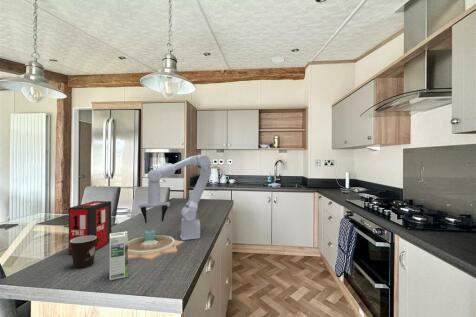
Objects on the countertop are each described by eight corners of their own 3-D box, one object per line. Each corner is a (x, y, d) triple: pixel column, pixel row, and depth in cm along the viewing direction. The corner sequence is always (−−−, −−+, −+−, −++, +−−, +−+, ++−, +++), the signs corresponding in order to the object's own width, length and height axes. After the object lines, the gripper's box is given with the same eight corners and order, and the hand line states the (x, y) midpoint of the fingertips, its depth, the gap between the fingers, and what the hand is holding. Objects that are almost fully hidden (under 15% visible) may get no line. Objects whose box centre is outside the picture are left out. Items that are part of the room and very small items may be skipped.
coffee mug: (76, 272, 85) (76, 244, 86) (65, 266, 90) (65, 240, 90) (108, 260, 95) (108, 235, 95) (97, 256, 100) (97, 232, 100)
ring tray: (179, 234, 129) (179, 229, 130) (189, 254, 101) (189, 249, 101) (116, 241, 118) (116, 236, 118) (108, 267, 90) (108, 260, 90)
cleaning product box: (89, 255, 101) (89, 208, 101) (68, 254, 101) (68, 207, 102) (111, 241, 118) (111, 201, 118) (93, 241, 118) (93, 201, 118)
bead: (154, 239, 119) (154, 229, 119) (154, 242, 114) (154, 231, 114) (144, 240, 117) (144, 230, 117) (144, 243, 113) (144, 232, 113)
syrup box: (109, 281, 79) (109, 237, 79) (109, 273, 85) (109, 232, 85) (128, 277, 82) (128, 234, 82) (127, 270, 87) (127, 230, 87)
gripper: (138, 196, 111) (138, 225, 111) (170, 194, 116) (170, 222, 116) (138, 194, 118) (138, 221, 117) (168, 192, 123) (168, 218, 123)
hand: (154, 221), depth 117 cm, fingers open, 7 cm apart
